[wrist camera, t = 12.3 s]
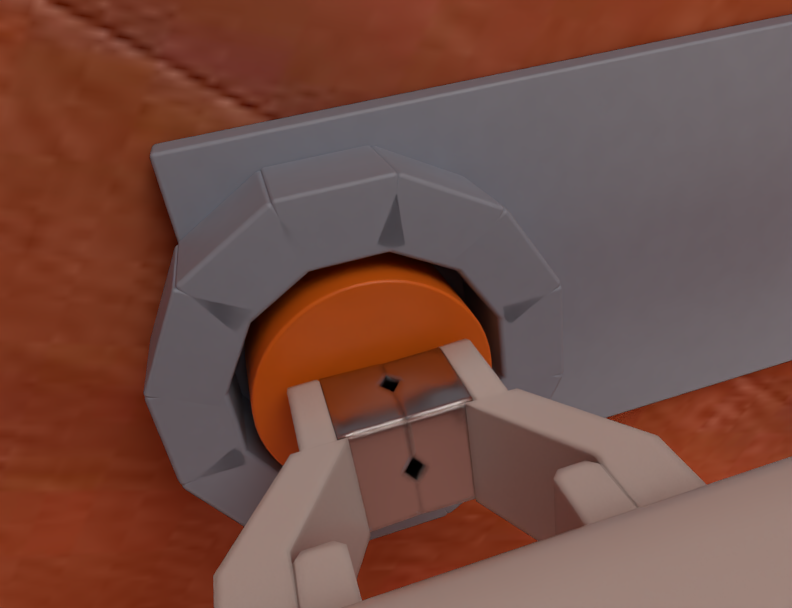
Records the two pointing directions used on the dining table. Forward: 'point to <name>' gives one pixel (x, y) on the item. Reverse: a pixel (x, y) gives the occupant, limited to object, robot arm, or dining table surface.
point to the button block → (497, 233)
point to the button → (348, 332)
